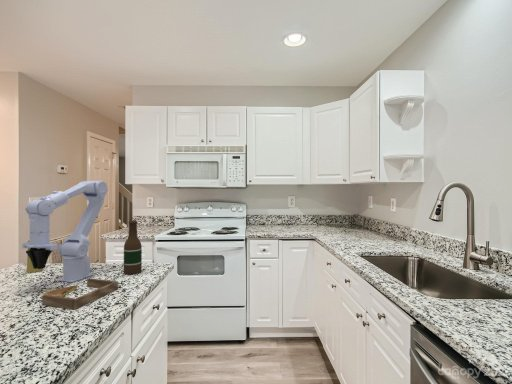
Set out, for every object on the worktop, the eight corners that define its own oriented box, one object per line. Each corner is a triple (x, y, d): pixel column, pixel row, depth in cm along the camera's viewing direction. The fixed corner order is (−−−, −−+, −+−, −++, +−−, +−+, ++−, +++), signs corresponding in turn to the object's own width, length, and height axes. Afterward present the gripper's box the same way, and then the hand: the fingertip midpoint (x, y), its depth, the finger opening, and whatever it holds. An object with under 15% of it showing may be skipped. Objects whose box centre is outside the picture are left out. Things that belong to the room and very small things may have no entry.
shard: (78, 288, 102) (78, 283, 102) (84, 293, 97) (84, 288, 97) (42, 296, 94) (42, 291, 94) (47, 302, 89) (47, 297, 89)
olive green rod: (35, 268, 125) (35, 238, 125) (46, 269, 124) (47, 239, 124) (22, 272, 119) (22, 241, 119) (34, 273, 118) (34, 241, 118)
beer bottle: (136, 269, 126) (136, 219, 126) (145, 272, 122) (145, 220, 122) (119, 273, 120) (120, 220, 120) (128, 276, 115) (129, 222, 115)
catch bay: (89, 285, 103) (89, 278, 103) (117, 289, 100) (118, 281, 100) (42, 304, 86) (42, 295, 86) (75, 309, 83) (75, 300, 83)
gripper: (13, 232, 96) (12, 269, 96) (43, 234, 92) (43, 273, 92) (33, 230, 103) (33, 264, 103) (62, 231, 99) (62, 267, 99)
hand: (39, 268), depth 98 cm, fingers closed
